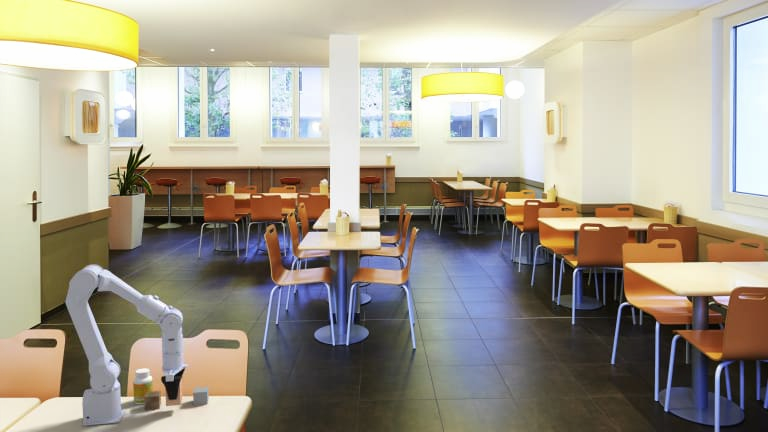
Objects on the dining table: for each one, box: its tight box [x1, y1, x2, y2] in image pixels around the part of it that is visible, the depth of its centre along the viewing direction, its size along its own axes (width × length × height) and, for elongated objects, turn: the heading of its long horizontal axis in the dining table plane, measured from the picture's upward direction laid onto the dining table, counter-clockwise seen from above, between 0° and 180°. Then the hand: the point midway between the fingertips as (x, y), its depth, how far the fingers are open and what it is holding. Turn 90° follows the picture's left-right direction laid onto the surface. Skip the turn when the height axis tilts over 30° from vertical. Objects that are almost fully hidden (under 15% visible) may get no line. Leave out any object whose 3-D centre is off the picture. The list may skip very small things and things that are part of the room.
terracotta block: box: [164, 379, 183, 407], centre depth 163 cm, size 4×4×7 cm
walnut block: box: [144, 390, 162, 411], centre depth 166 cm, size 4×4×4 cm
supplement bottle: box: [132, 367, 154, 405], centre depth 170 cm, size 5×5×10 cm
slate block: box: [192, 386, 209, 406], centre depth 170 cm, size 4×4×4 cm
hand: (174, 396), depth 163 cm, fingers closed on terracotta block, 4 cm apart
